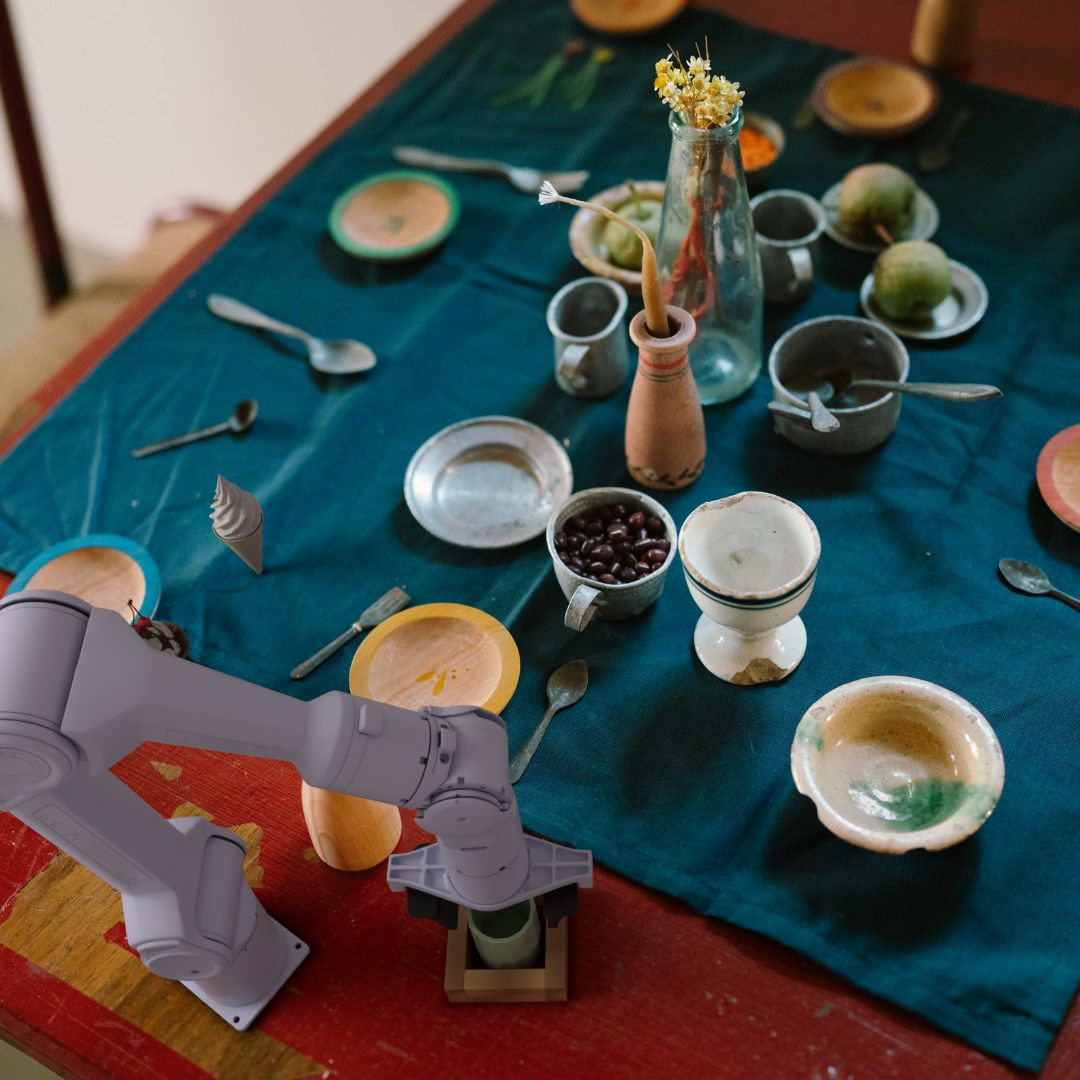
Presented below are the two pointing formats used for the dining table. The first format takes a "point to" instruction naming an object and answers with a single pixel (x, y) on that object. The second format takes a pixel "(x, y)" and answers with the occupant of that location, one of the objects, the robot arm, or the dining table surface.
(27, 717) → the robot arm
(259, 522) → the ice cream cone
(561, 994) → the brown square frame
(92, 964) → the dining table surface
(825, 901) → the dining table surface
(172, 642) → the sundae
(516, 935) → the cup
